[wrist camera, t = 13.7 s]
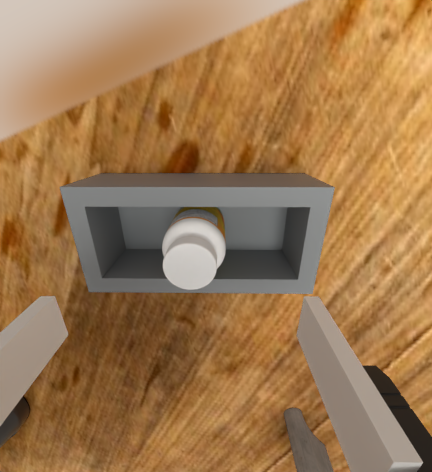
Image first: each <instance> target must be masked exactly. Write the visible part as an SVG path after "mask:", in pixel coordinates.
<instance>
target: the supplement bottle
mask: <svg viewBox="0 0 432 472" xmlns="http://www.w3.org/2000/svg"><path fill="white" fill-rule="evenodd" d="M225 251H226V242H225V224H224V217H223V214H222V212H221V211H220V209H219V208H218V207H181V208H180V209H179V210H178V212H177V213H176V215H175V217H174V219H173V221H172V223H171V225H170V226H169V228H168V230H167V232H166V234H165V236H164V239H163V244H162V252H163V256H164V259H163V271H164V274H165V276H166V277H167V279H168V280H169V281H170V282H171V283H172V284H174V285H175V286H177V287H179V288H182V289H187V290H195V289H200V288H202V287H204V286H206V285H208V284H209V283H210V282H211V281H212V280H213V278H214V277H215V274H216V271H217V268H218V267H219V266H220V265H221V263H222V262H223V260H224V257H225Z"/></svg>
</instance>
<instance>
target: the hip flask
mask: <svg viewBox="0 0 432 472" xmlns="http://www.w3.org/2000/svg"><path fill="white" fill-rule="evenodd" d="M284 417H285V421H286V426H287V430H288V435H289V439H290V443H291V448H292V452H293V456H294V461H295V465H296V469H297V472H333V469H332V466H331V463H330V460H329V457H328V454H327V451H326V448H325V445H324V444H323V443H322V442H320V441H319V440H318V439H317V438H316V437H315V436H314V434H313V433H312V432H311V431H310V429H309V428H308V426H307V424H306V422H305V420H304V418H303V415H302V412H301V410H300V409H297V408H289V409H287V410H286V411H285V412H284Z"/></svg>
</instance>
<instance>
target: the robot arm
mask: <svg viewBox="0 0 432 472" xmlns="http://www.w3.org/2000/svg"><path fill="white" fill-rule="evenodd" d="M67 336H68V332H67V329H66V326H65V323H64V320H63V318H62V315H61V312H60V309H59V306H58V303H57V301H56V298H55V296H40V297H39V298H38V299H37V300H36V301H35V302H34V303H32V304H31V305H30V306H29V307H28V308H27V309H26V310H25V311H24V312H22V313H21V314H20V315H19V316H18V317H17V318H16V319H15V320H14V321H13V322H11V323H10V324H9V325H8V326H7V327H6V328H5V329H4V330H3V331H1V332H0V448H1V447H2V446H3V445H4V443H5V442H6V441H7V440H8V439H9V438H11V437H12V436H13V435H15V434H16V433H17V432H18V431H19V429H20V428H21V426H22V425H23V423H24V422H25V421H26V419H27V418H28V416H29V406H28V404H27V402H26V400H25V399H24V398H23V395H24V394H25V393H26V391H27V390H28V389H29V387H30V386H31V385H32V383H33V382H34V381H35V379H36V378H37V377H38V375H39V374H40V373H41V371H42V370H43V369H44V367H45V366H46V364H47V363H48V362H49V360H50V359H51V358H52V356H53V355H54V354H55V352H56V351H57V350H58V348H59V347H60V346H61V344H62V343H63V342H64V340H65V339H66V338H67ZM297 337H298V340H299V343H300V345H301V348H302V350H303V353H304V355H305V358H306V360H307V363H308V365H309V368H310V370H311V373H312V375H313V378H314V380H315V383H316V385H317V388H318V390H319V393H320V395H321V398H322V400H323V403H324V405H325V408H326V410H327V413H328V415H329V418H330V420H331V423H332V425H333V428H334V431H335V433H336V436H337V438H338V441H339V443H340V446H341V448H342V451H343V453H344V456H345V458H346V461H347V463H348V466H349V468H350V471H351V472H432V437H431V435H430V434H429V433H428V431H427V430H426V428H425V427H424V426H423V424H422V423H421V421H420V420H419V419H418V417H417V416H416V414H415V413H414V411H413V410H412V409H410V407H409V404H408V403H407V402H406V400H405V399H404V397H403V396H401V394H400V392H399V390H398V389H397V388H396V386H395V385H394V383H393V382H392V381H391V379H390V378H389V377H388V376H387V375H386V374H385V373H383V372H382V371H381V370H380V369H379V368H378V367H377V366H362V364H361V363H360V361H359V360H358V358H357V357H356V355H355V353H354V352H353V350H352V349H351V347H350V345H349V344H348V342H347V341H346V339H345V338H344V336H343V334H342V333H341V331H340V330H339V328H338V326H337V325H336V323H335V322H334V320H333V318H332V317H331V315H330V314H329V312H328V311H327V309H326V307H325V306H324V304H323V303H322V301H321V299H320V298H319V297H304V300H303V305H302V310H301V315H300V321H299V326H298V331H297Z"/></svg>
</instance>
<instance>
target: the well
mask: <svg viewBox="0 0 432 472" xmlns="http://www.w3.org/2000/svg"><path fill="white" fill-rule="evenodd" d="M334 188H335V187H333V186H331V185H329V184H326V183H324V182H322V181H320V180H318V179H315V178H313V177H311V176H309V175H307V174H305V173H101V174H98V175H95V176H92V177H89V178H86V179H83V180H80V181H76V182H73V183H70V184H67V185H64V186H61V187H60V191H61V194H62V198H63V201H64V205H65V208H66V212H67V216H68V219H69V223H70V226H71V230H72V233H73V237H74V240H75V244H76V248H77V251H78V255H79V258H80V262H81V265H82V269H83V273H84V276H85V280H86V283H87V287H88V290H89V292H151V293H279V294H312V293H313V289H314V284H315V279H316V274H317V269H318V265H319V260H320V255H321V250H322V245H323V241H324V236H325V231H326V226H327V222H328V217H329V212H330V207H331V202H332V198H333V193H334ZM181 207H218V208H219V209H220V211H221V212H222V214H223V217H224V224H225V242H226V251H225V257H224V260H223V262H222V263H221V265H220V266H219V267H218V268H217V271H216V274H215V277H214V278H213V280H212V281H211V282H210V283H209V284H208V285H206V286H204V287H202V288H200V289H195V290H187V289H182V288H179V287H177V286H175V285H174V284H172V283H171V282H170V281H169V280H168V279H167V277H166V276H165V274H164V271H163V259H164V256H163V252H162V244H163V239H164V236H165V234H166V232H167V230H168V228H169V226H170V225H171V223H172V221H173V219H174V217H175V215H176V213H177V212H178V210H179V209H180V208H181Z"/></svg>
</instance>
